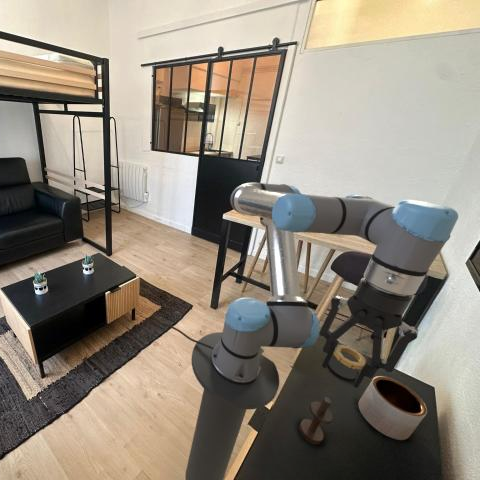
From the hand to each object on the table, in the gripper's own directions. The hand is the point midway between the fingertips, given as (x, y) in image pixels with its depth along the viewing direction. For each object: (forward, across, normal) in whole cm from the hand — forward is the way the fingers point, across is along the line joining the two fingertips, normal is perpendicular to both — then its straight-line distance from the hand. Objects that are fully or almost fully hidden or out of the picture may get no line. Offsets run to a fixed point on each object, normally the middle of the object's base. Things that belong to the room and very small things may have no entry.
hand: (340, 373), depth 56 cm
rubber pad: (+20, 0, +27) cm, 34 cm away
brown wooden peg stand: (+20, 0, -2) cm, 20 cm away
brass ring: (-5, 0, 0) cm, 5 cm away
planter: (+20, +12, +17) cm, 29 cm away
